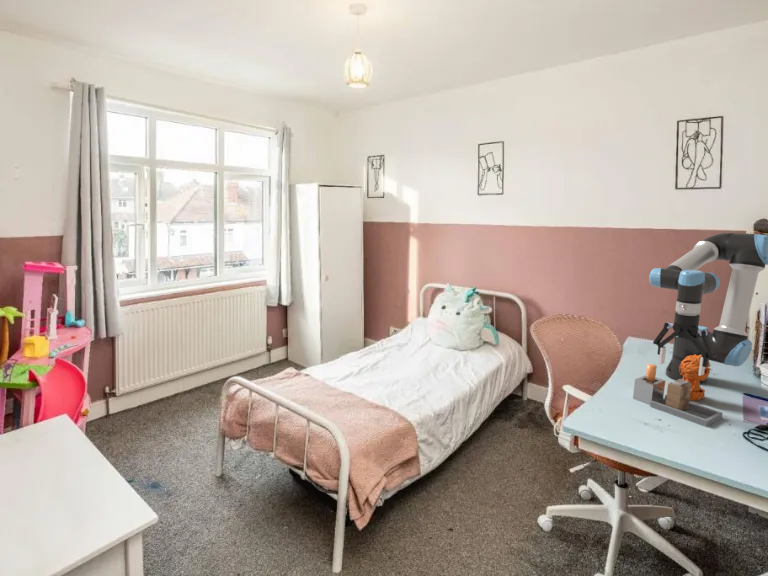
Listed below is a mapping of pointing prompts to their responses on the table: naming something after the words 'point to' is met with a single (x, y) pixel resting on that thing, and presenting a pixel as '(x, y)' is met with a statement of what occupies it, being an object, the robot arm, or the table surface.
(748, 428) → the table surface
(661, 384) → the grey block with hole
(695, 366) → the orange figurine
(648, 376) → the orange rounded peg
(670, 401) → the carriage
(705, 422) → the guide channel
